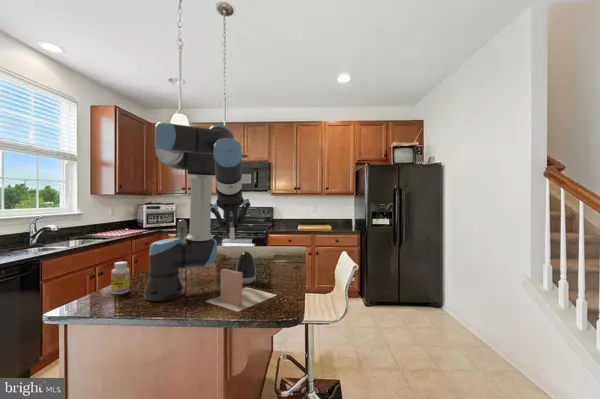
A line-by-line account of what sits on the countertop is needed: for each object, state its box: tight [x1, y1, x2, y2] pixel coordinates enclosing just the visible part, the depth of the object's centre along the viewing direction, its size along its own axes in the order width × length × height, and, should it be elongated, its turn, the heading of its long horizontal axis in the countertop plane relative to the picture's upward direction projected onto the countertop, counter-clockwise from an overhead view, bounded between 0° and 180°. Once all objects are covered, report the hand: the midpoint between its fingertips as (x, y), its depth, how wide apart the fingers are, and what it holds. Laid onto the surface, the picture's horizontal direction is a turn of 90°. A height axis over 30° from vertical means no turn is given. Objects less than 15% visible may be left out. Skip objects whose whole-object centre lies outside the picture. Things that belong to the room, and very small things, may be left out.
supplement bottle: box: [110, 261, 130, 295], centre depth 122 cm, size 7×7×13 cm
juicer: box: [174, 219, 193, 279], centre depth 149 cm, size 10×11×30 cm
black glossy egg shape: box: [235, 251, 257, 285], centre depth 137 cm, size 10×10×15 cm
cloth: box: [205, 287, 277, 313], centre depth 113 cm, size 22×18×1 cm
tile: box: [219, 268, 243, 306], centre depth 108 cm, size 2×10×12 cm, turn 55°
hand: (232, 237), depth 101 cm, fingers closed
